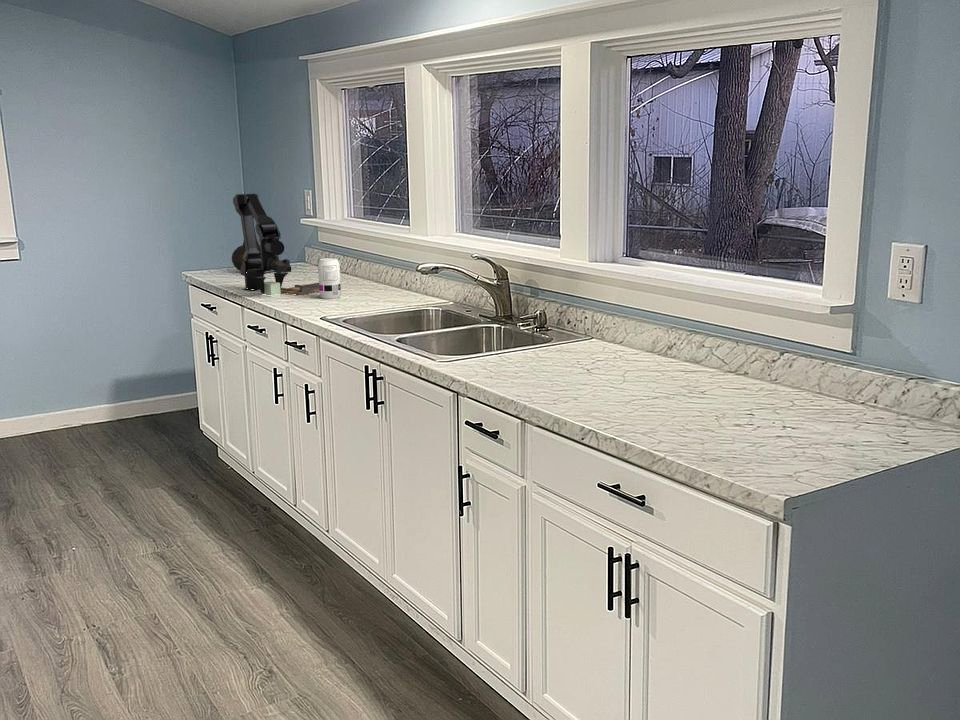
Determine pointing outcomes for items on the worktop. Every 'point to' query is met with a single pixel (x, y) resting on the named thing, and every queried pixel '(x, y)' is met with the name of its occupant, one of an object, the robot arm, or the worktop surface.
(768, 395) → the worktop surface
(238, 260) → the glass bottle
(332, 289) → the supplement can
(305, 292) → the channel board
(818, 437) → the worktop surface
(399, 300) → the worktop surface
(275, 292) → the block
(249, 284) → the robot arm
